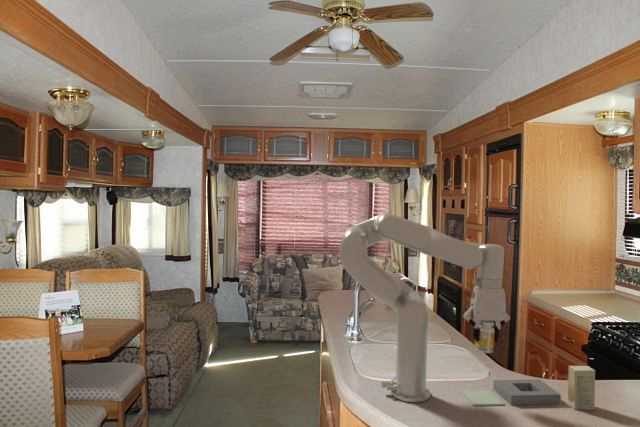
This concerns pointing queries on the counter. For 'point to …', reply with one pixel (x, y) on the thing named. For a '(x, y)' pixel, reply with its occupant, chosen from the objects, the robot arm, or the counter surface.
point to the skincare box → (581, 387)
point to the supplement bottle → (485, 337)
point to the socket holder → (526, 392)
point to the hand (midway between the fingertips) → (485, 339)
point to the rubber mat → (482, 398)
